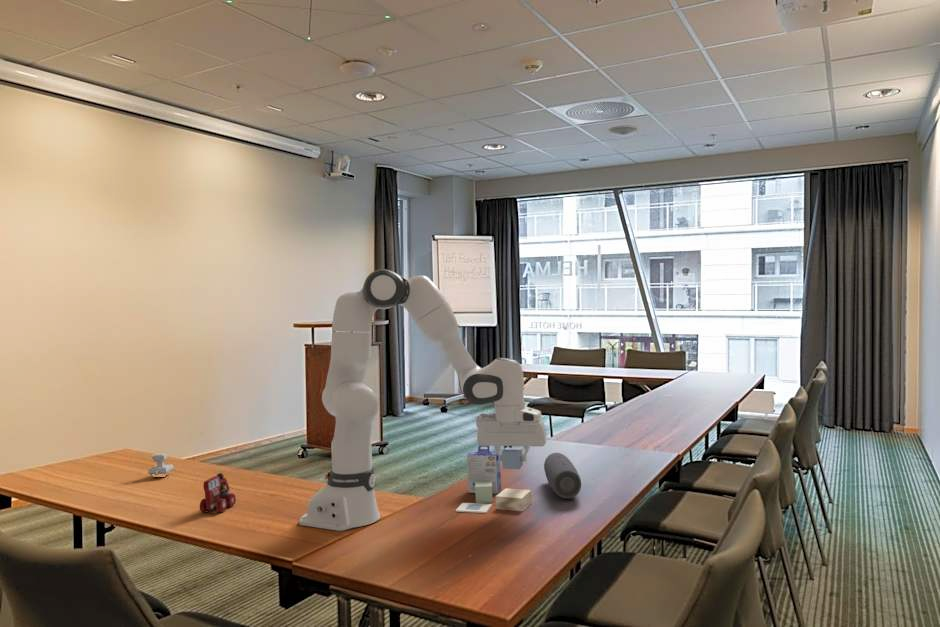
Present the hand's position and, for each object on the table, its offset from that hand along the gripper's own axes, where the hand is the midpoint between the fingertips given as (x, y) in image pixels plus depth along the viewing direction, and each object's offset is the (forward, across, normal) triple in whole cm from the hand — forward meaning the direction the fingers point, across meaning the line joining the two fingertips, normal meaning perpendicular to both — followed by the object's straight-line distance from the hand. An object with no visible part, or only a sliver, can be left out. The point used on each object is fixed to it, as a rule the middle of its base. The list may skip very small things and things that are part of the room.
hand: (512, 460), depth 188 cm
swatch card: (+13, -11, -4) cm, 18 cm away
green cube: (+13, -10, +4) cm, 17 cm away
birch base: (+13, 0, 0) cm, 13 cm away
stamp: (+13, -137, +16) cm, 139 cm away
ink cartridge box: (+13, -12, +13) cm, 22 cm away
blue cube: (+2, 0, 0) cm, 2 cm away
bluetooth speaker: (+14, +12, +16) cm, 24 cm away
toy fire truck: (+13, -89, -15) cm, 91 cm away
